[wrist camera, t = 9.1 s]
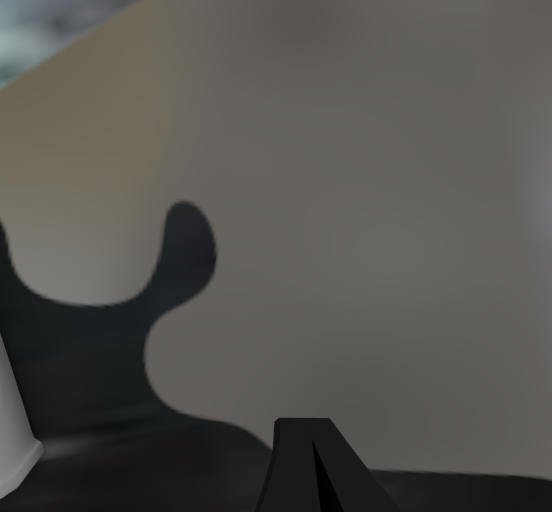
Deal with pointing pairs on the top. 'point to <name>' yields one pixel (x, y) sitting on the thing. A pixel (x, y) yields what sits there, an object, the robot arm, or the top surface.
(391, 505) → the robot arm
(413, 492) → the top surface
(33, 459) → the tube
